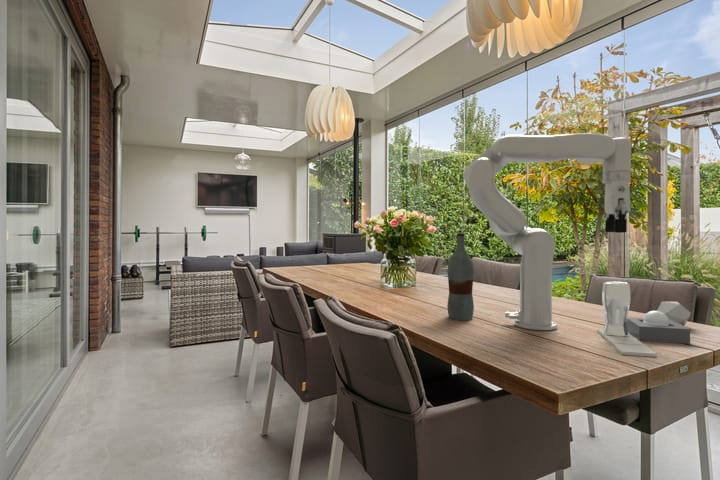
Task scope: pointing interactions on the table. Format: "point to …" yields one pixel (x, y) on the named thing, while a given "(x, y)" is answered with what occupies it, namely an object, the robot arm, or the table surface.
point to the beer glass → (616, 307)
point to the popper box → (658, 331)
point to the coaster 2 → (622, 340)
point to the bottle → (460, 283)
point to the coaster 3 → (634, 350)
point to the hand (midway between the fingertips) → (615, 232)
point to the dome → (656, 318)
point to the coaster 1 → (608, 335)
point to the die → (675, 312)
